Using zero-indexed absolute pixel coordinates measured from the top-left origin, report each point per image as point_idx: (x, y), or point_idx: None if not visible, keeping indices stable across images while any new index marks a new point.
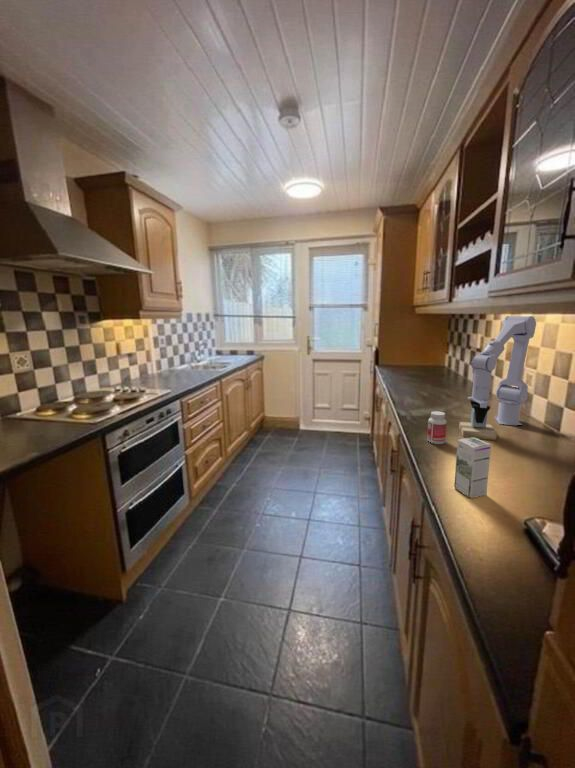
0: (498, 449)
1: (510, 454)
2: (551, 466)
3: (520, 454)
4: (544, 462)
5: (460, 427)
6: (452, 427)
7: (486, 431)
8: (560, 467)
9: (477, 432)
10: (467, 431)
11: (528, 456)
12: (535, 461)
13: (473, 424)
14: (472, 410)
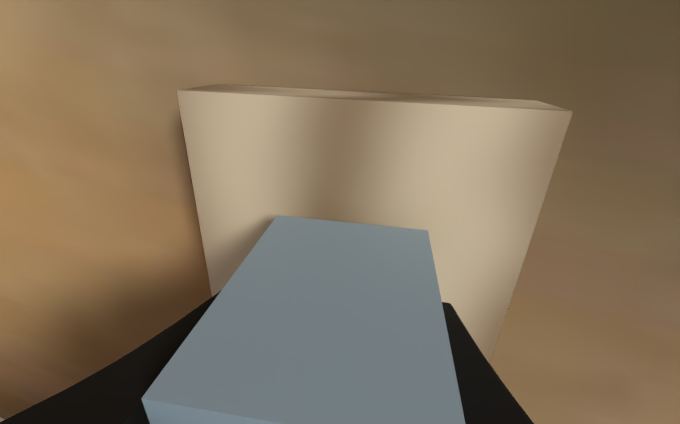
0: (73, 271)
1: (34, 303)
2: (3, 392)
3: (65, 344)
4: (29, 388)
5: (446, 98)
6: (534, 6)
7: None
8: (15, 411)
9: (203, 224)
10: (187, 132)
11: (60, 363)
12: (17, 365)
13: (269, 235)
14: (339, 399)
